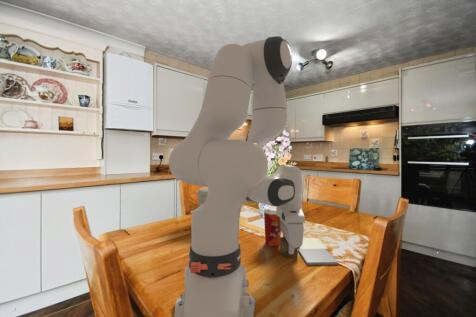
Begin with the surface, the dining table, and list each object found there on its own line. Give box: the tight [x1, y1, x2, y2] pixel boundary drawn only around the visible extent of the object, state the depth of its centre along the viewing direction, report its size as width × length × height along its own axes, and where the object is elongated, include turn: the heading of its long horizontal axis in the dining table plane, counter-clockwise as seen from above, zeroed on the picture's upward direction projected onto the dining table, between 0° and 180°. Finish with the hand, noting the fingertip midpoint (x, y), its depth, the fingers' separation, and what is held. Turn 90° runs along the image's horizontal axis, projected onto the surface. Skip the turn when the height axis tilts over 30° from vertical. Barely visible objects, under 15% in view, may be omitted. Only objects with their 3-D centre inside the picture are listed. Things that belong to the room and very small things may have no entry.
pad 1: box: [298, 237, 329, 251], centre depth 87 cm, size 10×10×1 cm
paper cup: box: [263, 205, 282, 247], centre depth 89 cm, size 8×8×14 cm
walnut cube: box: [279, 236, 299, 258], centre depth 80 cm, size 5×5×5 cm
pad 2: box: [298, 248, 339, 266], centre depth 77 cm, size 10×10×1 cm
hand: (288, 249), depth 80 cm, fingers closed on walnut cube, 5 cm apart
